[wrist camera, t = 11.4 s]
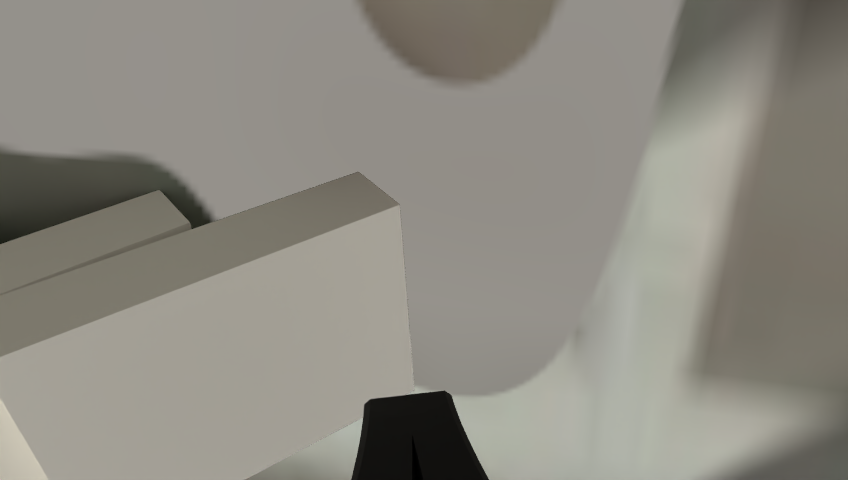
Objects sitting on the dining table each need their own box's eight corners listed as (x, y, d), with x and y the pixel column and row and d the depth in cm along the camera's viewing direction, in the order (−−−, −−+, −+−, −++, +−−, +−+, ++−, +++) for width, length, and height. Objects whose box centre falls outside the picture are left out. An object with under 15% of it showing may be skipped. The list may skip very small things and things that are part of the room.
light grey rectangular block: (399, 204, 13) (-20, 364, 10) (414, 390, 15) (95, 558, 12) (358, 171, 14) (-29, 305, 11) (379, 350, 17) (78, 495, 14)
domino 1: (189, 222, 12) (-313, 411, 9) (241, 407, 15) (-125, 604, 12) (159, 189, 13) (-300, 346, 10) (213, 368, 16) (-131, 538, 13)
